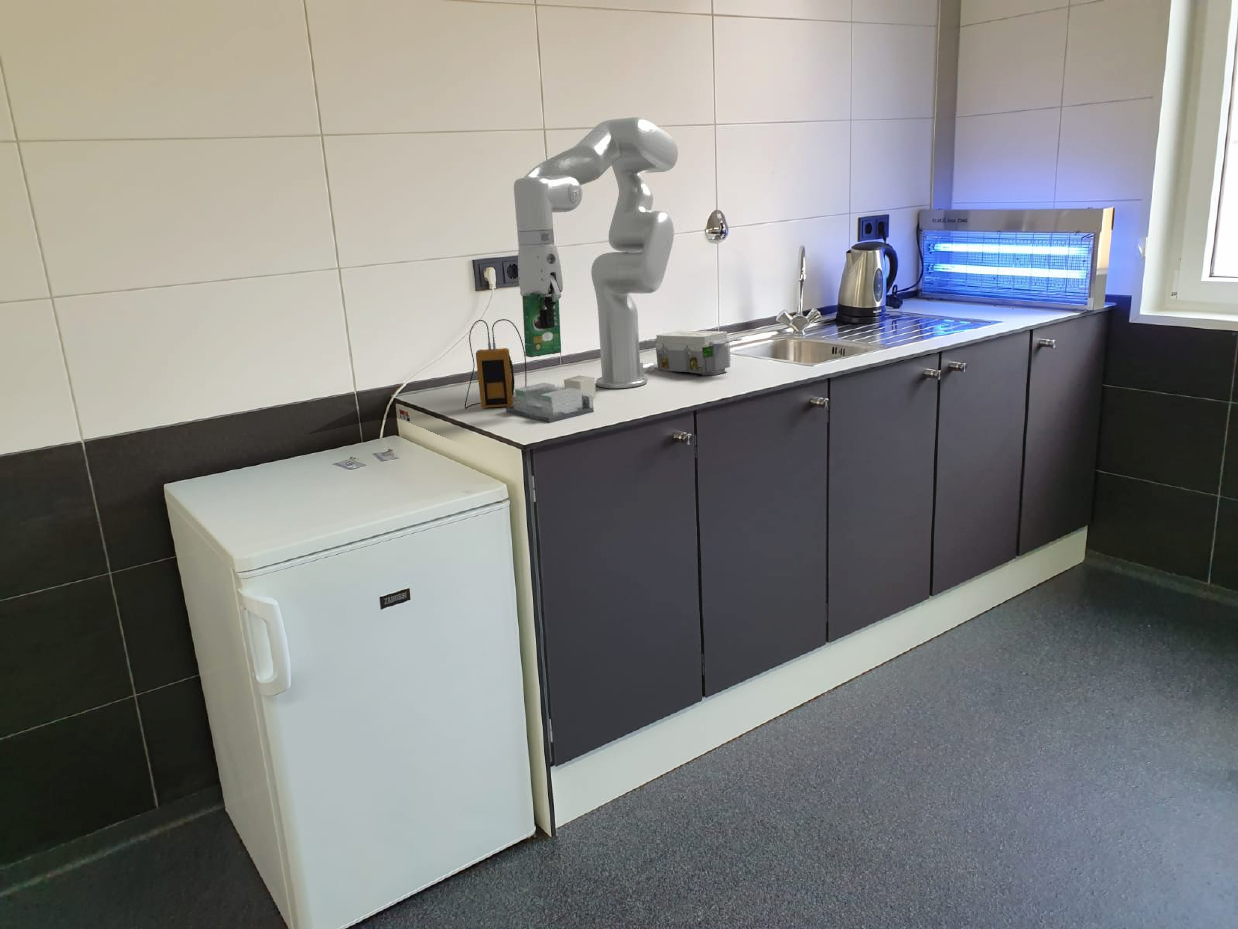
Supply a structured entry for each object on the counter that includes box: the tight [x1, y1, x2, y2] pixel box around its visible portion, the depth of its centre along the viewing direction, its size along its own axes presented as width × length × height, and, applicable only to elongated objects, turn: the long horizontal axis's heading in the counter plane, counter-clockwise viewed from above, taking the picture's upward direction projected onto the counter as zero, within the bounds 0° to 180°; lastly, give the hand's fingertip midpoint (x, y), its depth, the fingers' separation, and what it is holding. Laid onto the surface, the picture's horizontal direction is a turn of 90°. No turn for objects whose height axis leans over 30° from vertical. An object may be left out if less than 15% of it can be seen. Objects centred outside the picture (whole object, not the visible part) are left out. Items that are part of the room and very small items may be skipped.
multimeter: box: [464, 318, 527, 410], centre depth 211 cm, size 15×10×20 cm
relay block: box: [563, 375, 597, 400], centre depth 212 cm, size 5×5×5 cm
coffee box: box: [521, 293, 562, 358], centre depth 196 cm, size 8×3×13 cm, turn 129°
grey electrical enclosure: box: [644, 330, 743, 376], centre depth 236 cm, size 12×28×10 cm, turn 39°
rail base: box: [505, 382, 595, 424], centre depth 202 cm, size 12×16×5 cm
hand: (542, 326), depth 197 cm, fingers closed on coffee box, 3 cm apart
